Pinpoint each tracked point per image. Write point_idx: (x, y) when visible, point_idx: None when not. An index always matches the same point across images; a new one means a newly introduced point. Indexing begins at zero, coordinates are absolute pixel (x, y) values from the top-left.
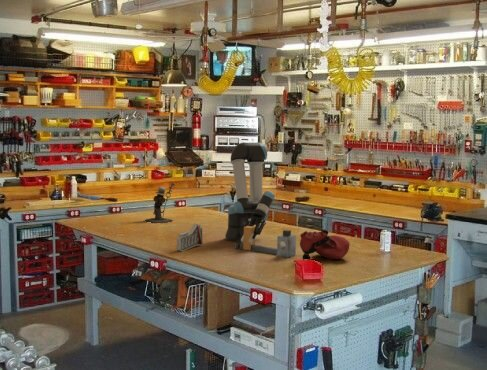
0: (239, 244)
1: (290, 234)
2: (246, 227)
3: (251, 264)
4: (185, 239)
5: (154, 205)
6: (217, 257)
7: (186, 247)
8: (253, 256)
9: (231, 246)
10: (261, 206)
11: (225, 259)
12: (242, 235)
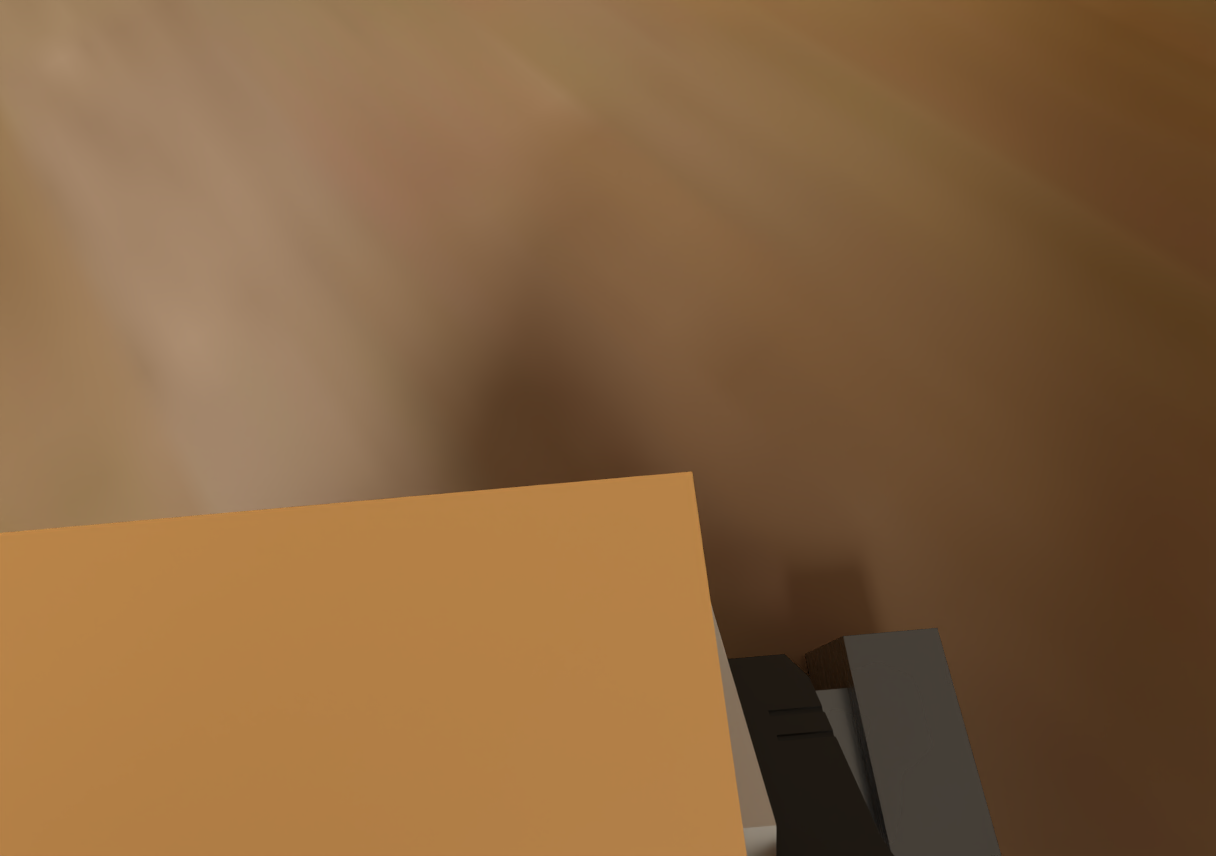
0: (826, 691)
1: None
2: (394, 500)
3: (30, 32)
4: None
5: None
6: (586, 12)
7: None
8: (172, 339)
9: (1141, 778)
10: None
11: (436, 8)
12: (784, 680)
